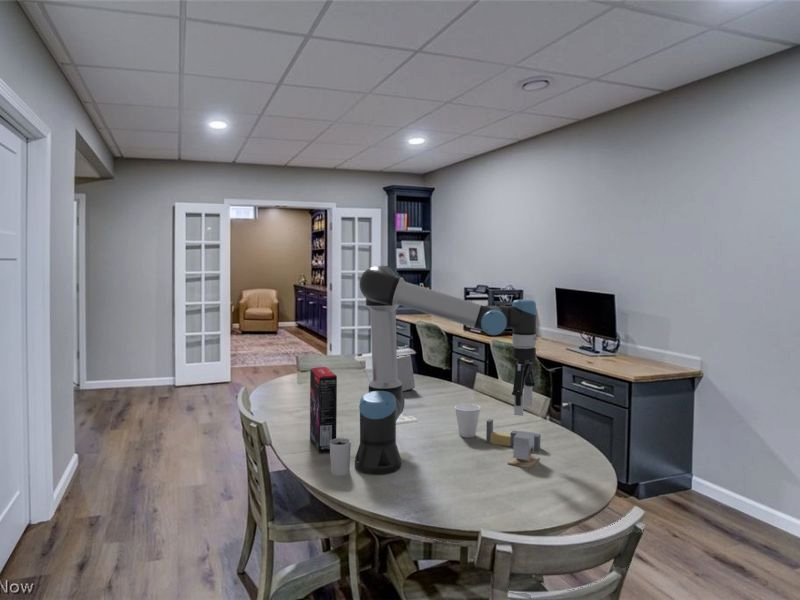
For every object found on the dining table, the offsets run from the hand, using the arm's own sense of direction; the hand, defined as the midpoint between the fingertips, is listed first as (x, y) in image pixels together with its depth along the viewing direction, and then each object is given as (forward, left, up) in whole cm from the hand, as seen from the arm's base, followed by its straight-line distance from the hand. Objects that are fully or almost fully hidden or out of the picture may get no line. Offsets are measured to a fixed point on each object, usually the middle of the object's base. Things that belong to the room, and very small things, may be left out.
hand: (523, 410), depth 185 cm
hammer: (-6, +13, -17) cm, 22 cm away
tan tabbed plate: (+1, -1, -17) cm, 17 cm away
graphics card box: (-67, -19, -17) cm, 72 cm away
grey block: (+1, -1, -15) cm, 15 cm away
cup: (-25, +16, -17) cm, 35 cm away
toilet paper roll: (-48, -37, -17) cm, 63 cm away
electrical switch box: (-84, +70, -17) cm, 111 cm away
